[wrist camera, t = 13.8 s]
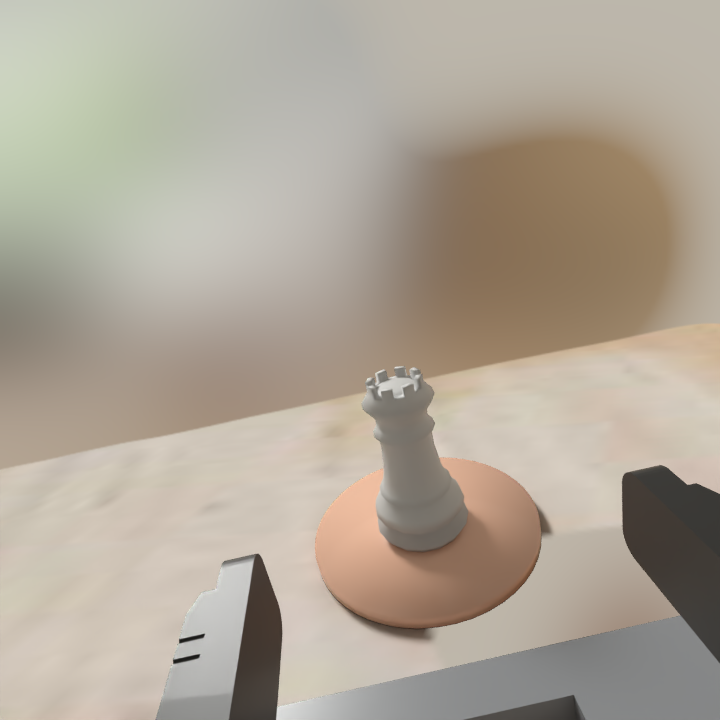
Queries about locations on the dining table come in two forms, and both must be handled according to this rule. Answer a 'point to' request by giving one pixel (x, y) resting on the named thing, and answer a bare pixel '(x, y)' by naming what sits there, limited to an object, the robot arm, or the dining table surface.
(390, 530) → the rook chess piece
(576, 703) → the power strip
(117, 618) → the dining table surface
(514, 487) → the peach dome
